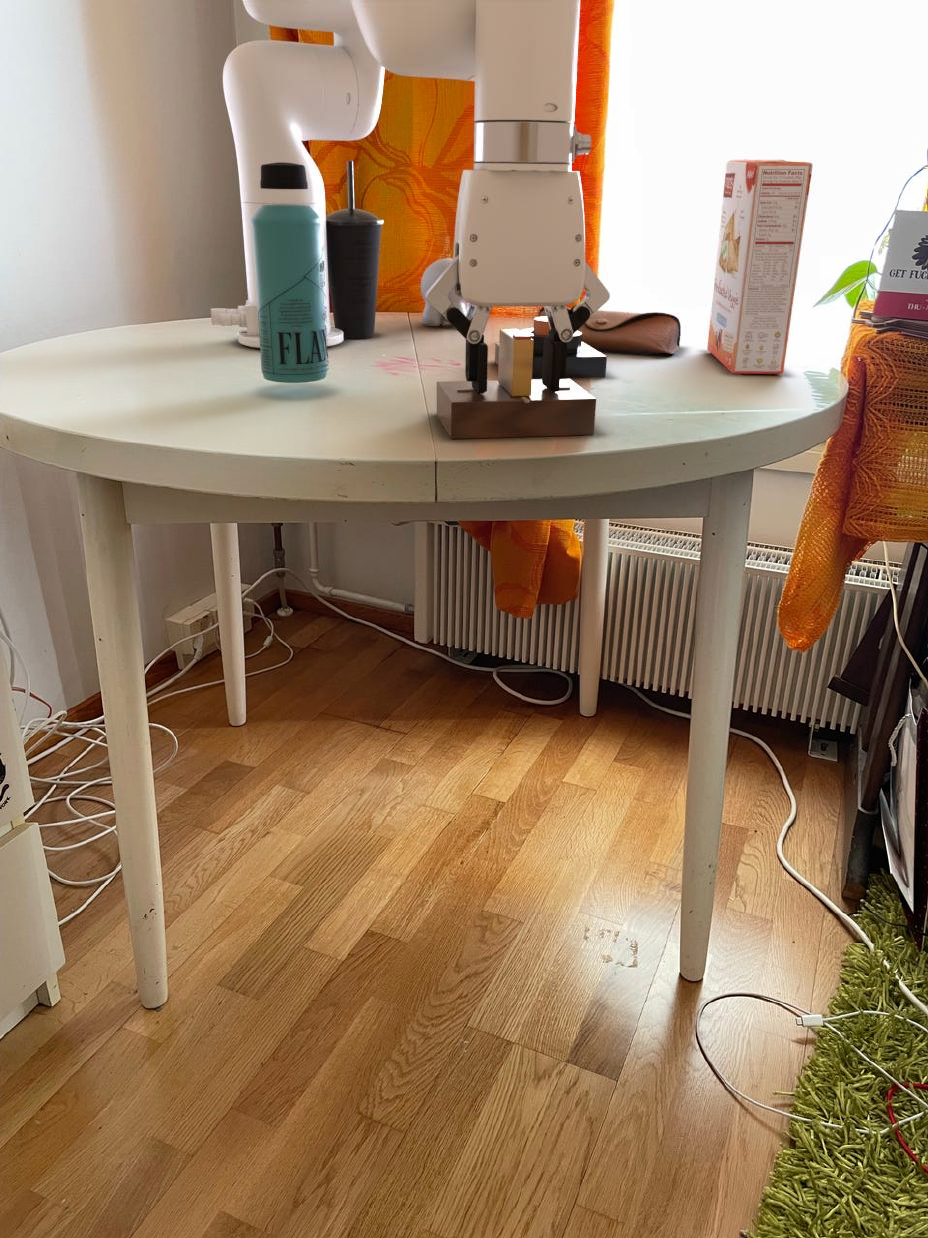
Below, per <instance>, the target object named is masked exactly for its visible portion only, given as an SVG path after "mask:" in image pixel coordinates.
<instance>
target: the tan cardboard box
mask: <svg viewBox="0 0 928 1238" xmlns="http://www.w3.org/2000/svg"><path fill="white" fill-rule="evenodd" d="M498 339H499V341H498V343H499V366H498V372H497V380H498V383H499V384H500V385H501V386H502V387H503V388H504V389H505V390H506V391H508V392H509V393H510V394H511V395H512V396H531V388H532V380H533V379H532V365H533V342H534V340H533V339H531V336H530V335H529V334H524V333H523V332H521V330H519V329H518V328H500V329H499V338H498Z"/></svg>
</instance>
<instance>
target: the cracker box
mask: <svg viewBox="0 0 928 1238" xmlns="http://www.w3.org/2000/svg"><path fill="white" fill-rule="evenodd" d="M813 165H814V164H813V163H812V162H807V161H790V160H785V159H748V158H747V159H746V158H745V159H732V160H727V161H726V167H725V176H724V185H723V193H722V194H723V195H722V204H721V205H722V206H721V215H720V224H719V225H720V226H719V234H718V243H717V253H716V262H715V271H714V280H713V290H712V300H711V307H710V309H711V310H710V318H709V329H708V337H707V345H706V346H707V347H706V349H707V351H709V353H710V354H712V356H713V357H715V359H716V360H717V361H718V362H720V363H721V365H723V366H724V367H725V368H726V369H727V370H728V371H729V373H731V374H733V375H783V374H784V370H785V364H786V363H785V362H786V356H787V347H788V342H789V334H790V327H791V321H792V320H791V319H792V314H793V313H792V312H793V305H794V300H795V299H794V298H795V293H796V292H795V290H796V285H797V277H798V270H799V264H800V257H801V249H802V241H803V235H804V228H805V222H806V216H807V215H806V214H807V208H808V201H809V194H810V186H811V180H812V173H813V172H812V171H813Z"/></svg>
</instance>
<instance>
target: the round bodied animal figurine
mask: <svg viewBox="0 0 928 1238" xmlns="http://www.w3.org/2000/svg"><path fill="white" fill-rule="evenodd" d="M452 260H453V258H450V257H448V258H447V257H446V258H441V259H437V260H436V261H434V262H432V263H431V264H430V265H428V266H427V268H426V269H425V270H424V272H423V274H422V276H421V280H420V291H421V292H420V293H421V298H422V299H423V301H424V303H425V306H424V308H423V311H422V314H421V323H422V324H423V325H425V326H428V327H439V326H441V325H443V324H446V323H448V325H450V326H453V325H452V324H451V323H450V322H449V321H448V320H447V319H446V318H445V317H444V316H443V315H442V314H441V313H439V312H438V311H437V310H436V309H435V308H434V307H433V306H432V305H431V304H430V303H429V302H428V301H427V300H426V299H425V293H426V292H427V290H428V289H429V288H430V287H431V286H432V284H433V283H434V282H435V281H436V280H437V278H438V277H439V276H440V275H441V274H442V272H443V271H444V270H445V269H446V268H447V266H448V265H449V264H450V263H451V262H452ZM448 298H449V300H450V302H451V303H453V304H454V305H455V306H456V307H457V308H458V309H459V310H460V311H461V312H462V313H463V314H464V315H465V316H466V314H467V311H468V308H469V305H470V303H468V302H466V301H465V300H464V299H463V298H461V297H459V296H458V295H456V294H455V292H454V289H452V290H451V291H450V292H449V294H448Z"/></svg>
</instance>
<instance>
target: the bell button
mask: <svg viewBox="0 0 928 1238" xmlns="http://www.w3.org/2000/svg"><path fill="white" fill-rule="evenodd" d="M533 328H534V330H533V334H538V335H549V331H550V327H549V324H548V320H547V317H538V316H537V317H534V319H533Z"/></svg>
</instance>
